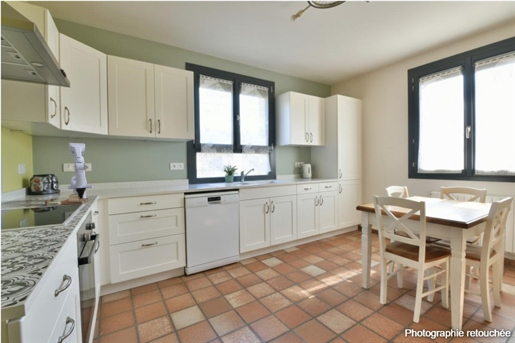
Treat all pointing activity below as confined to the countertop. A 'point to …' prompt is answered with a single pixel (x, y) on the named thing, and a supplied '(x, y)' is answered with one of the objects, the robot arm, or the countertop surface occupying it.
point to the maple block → (74, 197)
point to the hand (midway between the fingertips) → (81, 198)
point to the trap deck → (64, 202)
